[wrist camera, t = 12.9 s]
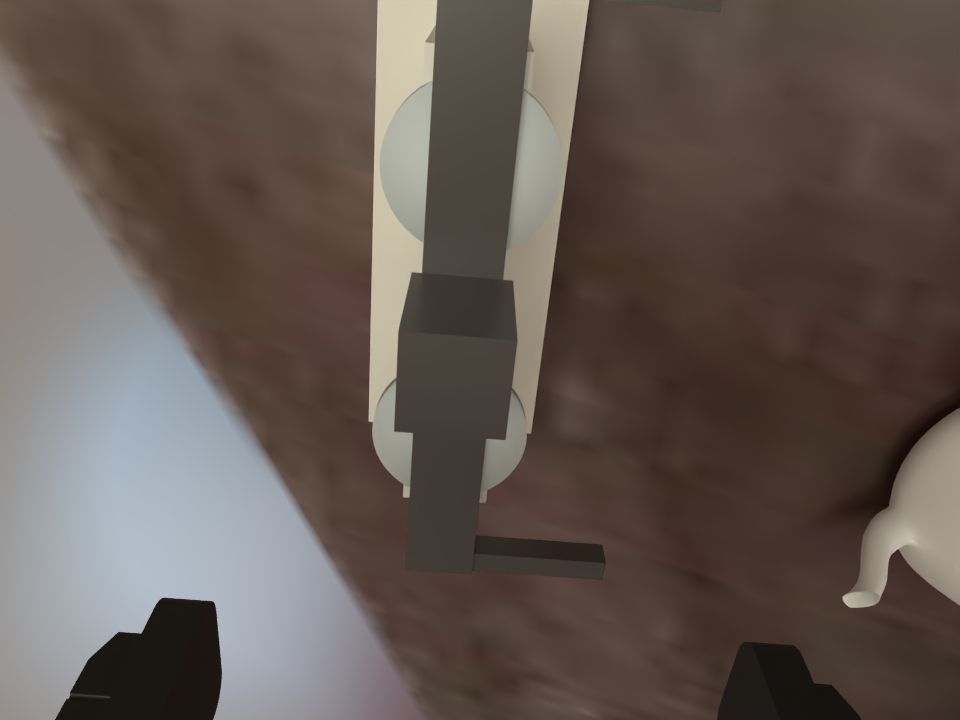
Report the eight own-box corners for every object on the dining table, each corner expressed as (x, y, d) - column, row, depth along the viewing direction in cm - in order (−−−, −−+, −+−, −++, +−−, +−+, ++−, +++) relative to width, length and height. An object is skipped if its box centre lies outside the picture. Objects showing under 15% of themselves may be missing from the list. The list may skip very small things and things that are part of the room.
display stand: (384, -91, 30) (332, -107, 20) (594, -71, 31) (647, -77, 20) (372, 405, 40) (333, 562, 30) (529, 417, 41) (543, 576, 31)
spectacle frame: (388, -57, 21) (359, -56, 16) (717, -25, 21) (782, -14, 16) (370, 544, 30) (349, 654, 25) (598, 561, 30) (618, 672, 26)
